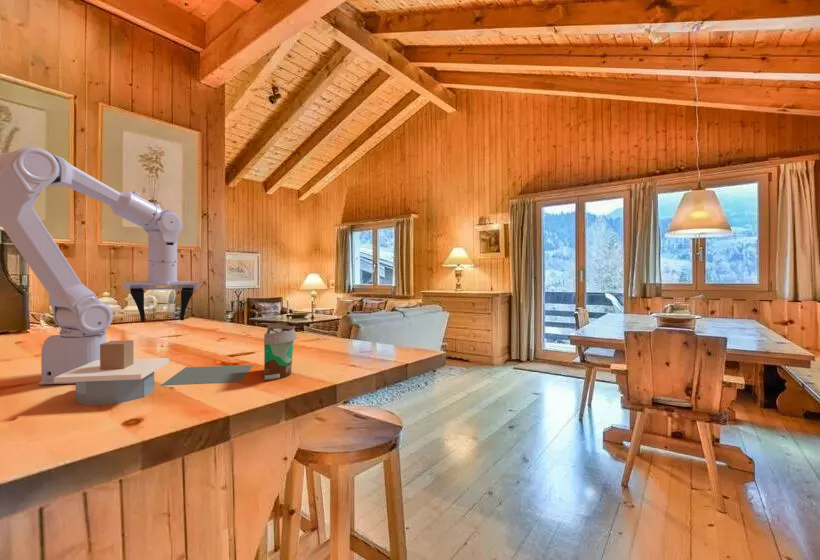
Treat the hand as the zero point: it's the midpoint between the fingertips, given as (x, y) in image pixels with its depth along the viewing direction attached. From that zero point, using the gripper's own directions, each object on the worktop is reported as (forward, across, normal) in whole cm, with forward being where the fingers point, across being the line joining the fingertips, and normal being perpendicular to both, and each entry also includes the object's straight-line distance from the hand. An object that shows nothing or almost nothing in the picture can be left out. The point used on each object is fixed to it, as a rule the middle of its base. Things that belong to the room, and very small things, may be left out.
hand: (162, 320), depth 94 cm
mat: (+10, +8, -18) cm, 22 cm away
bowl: (+10, -7, -25) cm, 28 cm away
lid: (+5, -7, -25) cm, 26 cm away
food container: (+10, +21, -25) cm, 34 cm away
